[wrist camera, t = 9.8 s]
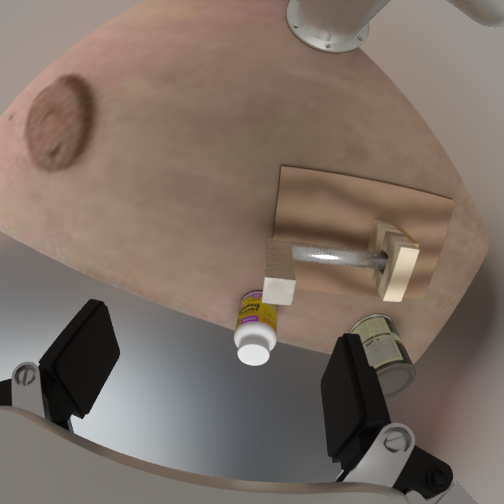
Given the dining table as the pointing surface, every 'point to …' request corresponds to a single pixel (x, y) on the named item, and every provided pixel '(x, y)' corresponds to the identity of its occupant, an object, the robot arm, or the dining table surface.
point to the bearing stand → (362, 231)
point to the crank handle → (286, 252)
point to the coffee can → (385, 353)
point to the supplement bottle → (255, 329)
